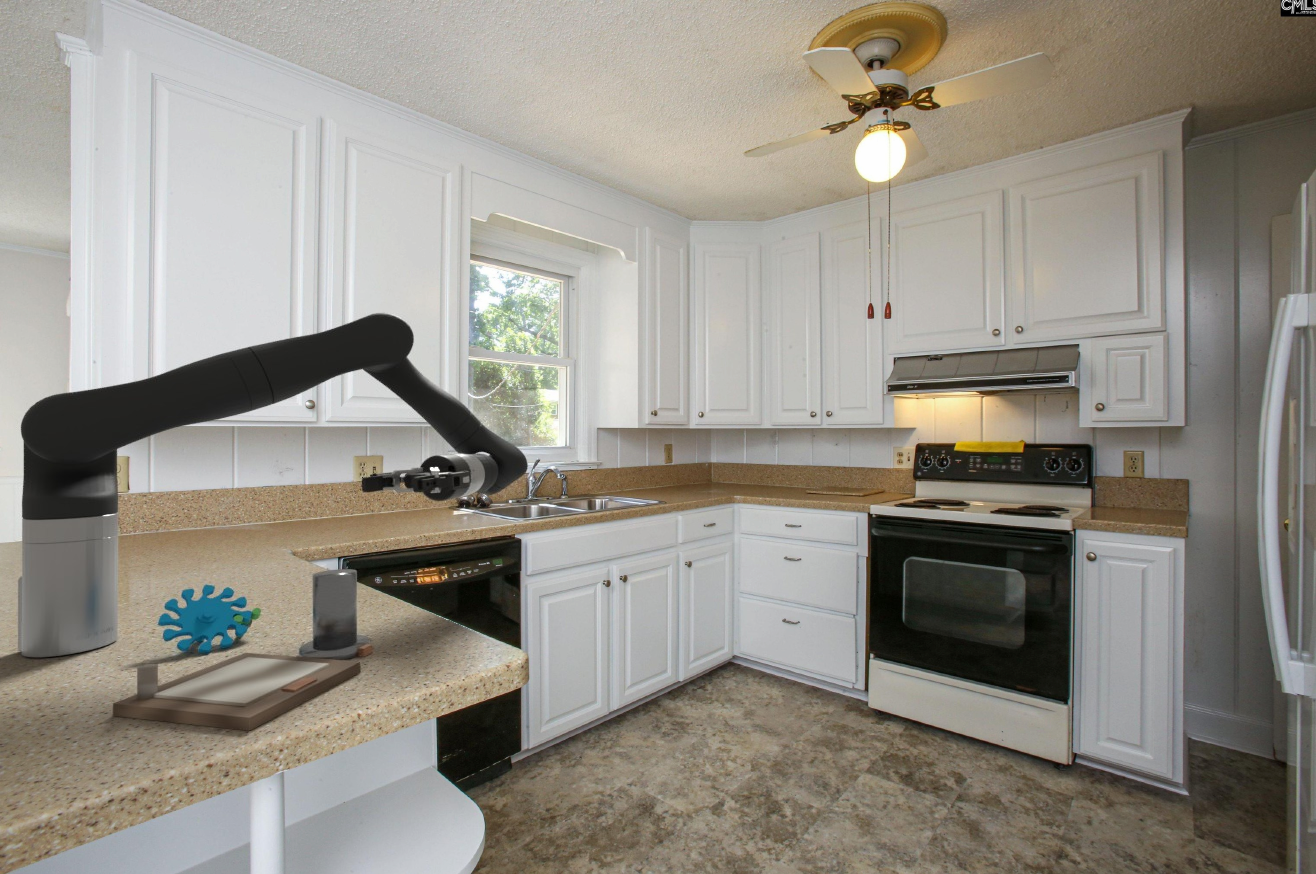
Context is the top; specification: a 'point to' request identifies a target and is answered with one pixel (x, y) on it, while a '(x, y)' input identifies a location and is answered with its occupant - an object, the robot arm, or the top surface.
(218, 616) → the gear
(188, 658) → the top surface
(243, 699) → the mount board
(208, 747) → the top surface
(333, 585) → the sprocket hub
